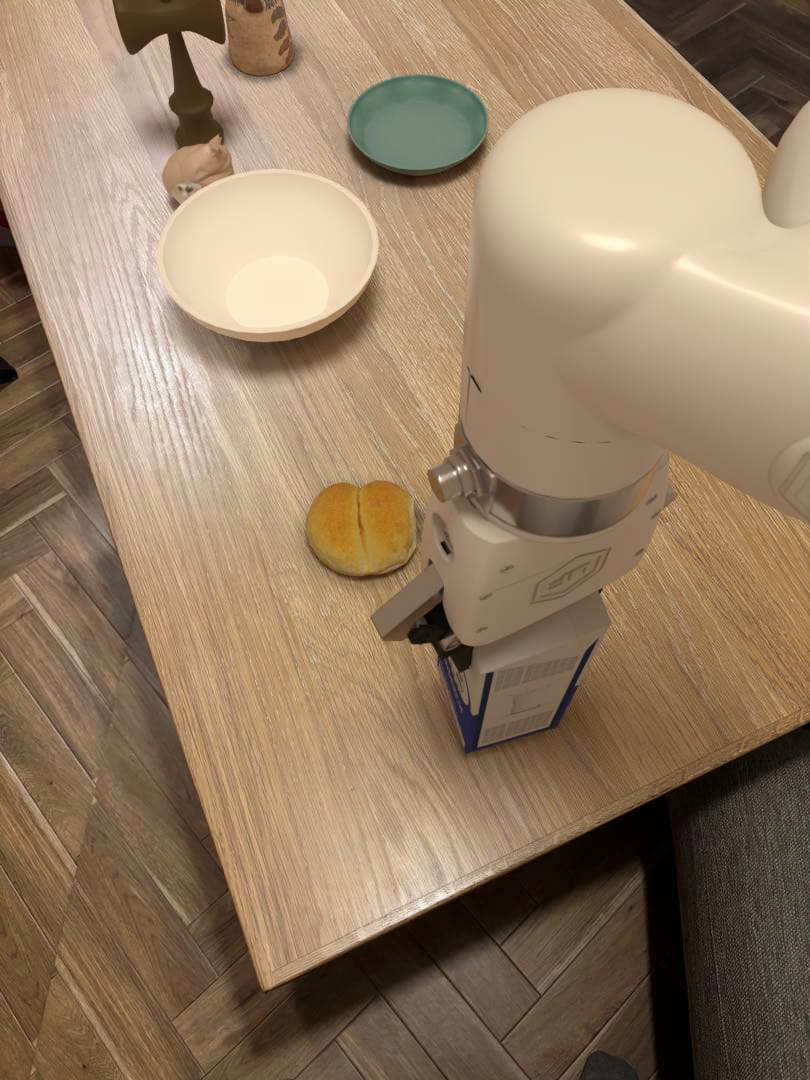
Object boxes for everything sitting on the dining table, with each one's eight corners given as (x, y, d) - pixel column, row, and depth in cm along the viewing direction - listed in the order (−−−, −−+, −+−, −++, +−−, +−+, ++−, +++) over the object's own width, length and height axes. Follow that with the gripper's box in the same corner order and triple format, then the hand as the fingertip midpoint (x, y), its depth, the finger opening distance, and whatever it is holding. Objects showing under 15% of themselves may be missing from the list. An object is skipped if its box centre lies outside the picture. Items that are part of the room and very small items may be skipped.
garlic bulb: (205, 233, 86) (187, 166, 79) (159, 205, 88) (137, 137, 81) (250, 195, 88) (236, 127, 81) (204, 169, 90) (187, 99, 83)
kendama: (250, 152, 91) (212, -48, 73) (158, 167, 90) (97, -32, 72) (241, 115, 94) (203, -87, 76) (152, 129, 93) (92, -72, 75)
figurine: (294, 35, 100) (280, -77, 89) (294, 75, 97) (280, -37, 86) (232, 38, 100) (211, -75, 89) (230, 78, 97) (208, -34, 86)
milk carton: (558, 729, 60) (614, 624, 42) (466, 757, 59) (483, 661, 42) (524, 638, 63) (562, 503, 46) (436, 662, 63) (440, 536, 45)
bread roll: (307, 493, 73) (302, 468, 69) (414, 489, 73) (414, 464, 69) (306, 583, 69) (301, 561, 65) (418, 579, 69) (419, 557, 65)
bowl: (133, 300, 82) (111, 246, 76) (286, 196, 88) (277, 138, 82) (268, 420, 76) (256, 372, 70) (423, 299, 82) (424, 244, 76)
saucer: (410, 77, 97) (410, 55, 94) (514, 135, 92) (517, 113, 90) (319, 146, 92) (317, 124, 89) (426, 211, 87) (426, 190, 85)
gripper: (394, 621, 29) (405, 748, 45) (809, 420, 32) (683, 604, 48) (303, 454, 32) (343, 628, 48) (691, 286, 35) (608, 501, 51)
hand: (514, 615), depth 48 cm, fingers closed on milk carton, 7 cm apart
